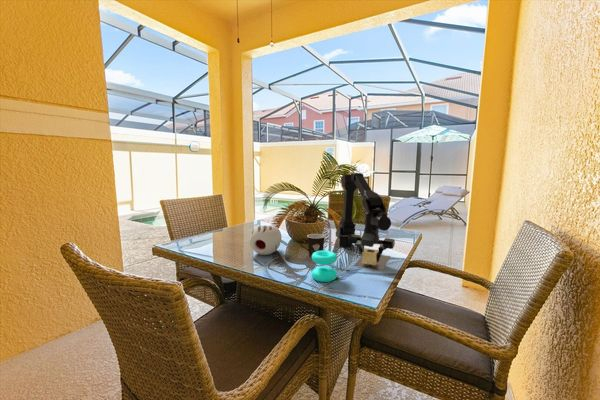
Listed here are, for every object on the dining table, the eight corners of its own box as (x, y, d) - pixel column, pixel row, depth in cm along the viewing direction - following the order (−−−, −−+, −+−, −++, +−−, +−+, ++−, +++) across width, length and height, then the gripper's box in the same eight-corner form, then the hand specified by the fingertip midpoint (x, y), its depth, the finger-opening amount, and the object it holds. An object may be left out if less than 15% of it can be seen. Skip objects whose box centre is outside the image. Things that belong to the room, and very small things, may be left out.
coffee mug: (326, 254, 137) (327, 234, 136) (320, 259, 130) (321, 239, 128) (305, 251, 142) (305, 232, 141) (298, 256, 135) (298, 236, 133)
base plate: (382, 274, 113) (382, 261, 112) (353, 269, 118) (353, 256, 118) (390, 259, 130) (391, 248, 130) (365, 255, 136) (365, 244, 135)
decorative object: (287, 248, 147) (286, 221, 145) (274, 260, 129) (274, 229, 127) (260, 246, 151) (259, 219, 149) (244, 257, 133) (243, 227, 131)
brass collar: (375, 265, 116) (376, 254, 115) (361, 263, 118) (362, 252, 118) (378, 261, 121) (379, 250, 120) (365, 259, 124) (365, 248, 123)
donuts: (329, 248, 115) (342, 255, 106) (328, 271, 116) (341, 280, 107) (307, 251, 111) (318, 259, 102) (307, 275, 112) (318, 285, 103)
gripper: (344, 226, 115) (343, 262, 117) (391, 231, 106) (389, 270, 108) (352, 221, 124) (351, 255, 127) (395, 226, 116) (394, 261, 118)
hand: (370, 260), depth 120 cm, fingers closed on brass collar, 6 cm apart
